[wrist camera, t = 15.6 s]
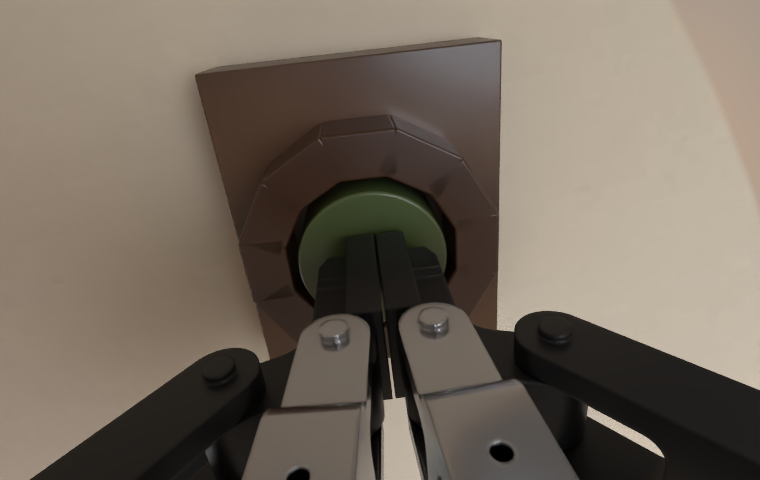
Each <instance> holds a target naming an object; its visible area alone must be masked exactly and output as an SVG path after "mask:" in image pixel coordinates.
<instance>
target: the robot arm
mask: <svg viewBox="0 0 760 480" xmlns="http://www.w3.org/2000/svg"><path fill="white" fill-rule="evenodd" d="M376 242H377V251H378V259H379V268H380V276H381V285H382V293H383V301H384V310H385V317H386V325H387V333H388V341H389V349H390V357H391V365H392V373H393V381H394V389H395V397H396V398H402V397H405V400H406V406H407V414H408V424H409V431H410V435H411V439H412V443H413V447H414V451H415V456H416V460H417V464H418V468H419V472H420V476H421V480H760V390H757V389H755V388H752V387H750V386H747V385H745V384H742V383H740V382H737V381H735V380H732V379H730V378H727V377H725V376H722V375H720V374H717V373H715V372H712V371H710V370H707V369H705V368H702V367H700V366H697V365H695V364H692V363H690V362H687V361H685V360H682V359H680V358H677V357H675V356H672V355H670V354H667V353H665V352H662V351H660V350H657V349H655V348H652V347H650V346H647V345H645V344H642V343H640V342H637V341H635V340H632V339H630V338H627V337H625V336H622V335H620V334H617V333H615V332H612V331H610V330H607V329H605V328H602V327H600V326H597V325H595V324H592V323H590V322H587V321H585V320H582V319H580V318H577V317H575V316H572V315H569V314H566V313H562V312H555V311H540V312H534V313H531V314H528V315H526V316H524V317H522V318H521V319H520V320H519V321H518V322H517V323H516V325H515V329H514V332H511V331H500V330H492V329H486V328H482V327H479V326H476V325H474V324H472V323H471V321H470V319H469V317H468V316H467V314H466V313H465V312H464V311H463V310H461V309H460V308H458V307H456V305H455V303H454V300H453V297H452V295H451V292H450V289H449V287H448V284H447V282H446V279H445V276H444V274H443V271H442V268H441V267H440V263H439V261H438V258H437V255H436V254H435V253H433V252H432V251H431V250H429V249H428V248H427V247H425V246H422V247H413V248H407V245H406V241H405V238H404V234H403V231H395V232H387V233H379V234H376ZM316 290H317V292H316V297H315V306H314V314H313V322H312V323H310V324H309V325H308V326H307V327H306V328H305V329H304V330H303V331H302V333H301V335H300V337H299V341H298V344H297V348H296V349H294V350H293V351H291V352H289V353H287V354H285V355H282V356H280V357H277V358H274V359H271V360H268V361H265V362H263V363H259V359H258V357H257V356H256V355H255V354H254V353H253V352H251V351H250V350H247V349H242V348H228V349H223V350H219V351H216V352H213V353H211V354H208V355H206V356H205V357H203V358H201V359H199V360H198V361H196V362H195V363H194V364H192V365H191V366H189V367H188V368H187V369H185V370H184V371H182V372H181V373H179V374H178V375H177V376H175V377H174V378H172V379H171V380H170V381H168V382H167V383H165V384H164V385H163V386H161V387H160V388H158V389H157V390H156V391H154V392H153V393H151V394H150V395H148V396H147V397H146V398H144V399H143V400H141V401H140V402H139V403H137V404H136V405H134V406H133V407H132V408H130V409H129V410H127V411H126V412H124V413H123V414H122V415H120V416H119V417H117V418H116V419H115V420H113V421H112V422H110V423H109V424H108V425H106V426H105V427H103V428H102V429H101V430H99V431H98V432H96V433H95V434H93V435H92V436H91V437H89V438H88V439H86V440H85V441H84V442H82V443H81V444H79V445H78V446H77V447H75V448H74V449H72V450H71V451H69V452H68V453H67V454H65V455H64V456H62V457H61V458H60V459H58V460H57V461H55V462H54V463H53V464H51V465H50V466H48V467H47V468H46V469H44V470H43V471H41V472H40V473H38V474H37V475H36V476H34V477H33V478H31V479H30V480H173V479H175V478H176V477H177V476H178V475H179V474H180V473H181V472H182V471H184V470H185V469H186V468H187V467H188V466H189V465H190V464H191V463H192V462H194V461H195V460H196V459H197V458H198V457H199V456H200V455H201V454H203V453H204V452H206V455H207V457H208V460H209V462H207V463H206V464H205V465H204V466H203V467H202V468H201V469H200V470H199V471H198V472H196V473H195V474H194V475H193V476H192V477H191V478H190V479H189V480H384V429H383V420H384V402H383V400H387V399H393V398H392V389H391V381H390V372H389V364H388V355H387V347H386V338H385V330H384V321H383V313H382V304H381V296H380V287H379V279H378V271H377V262H376V254H375V246H374V237H373V234H371V235H363V236H354V237H346V256H339V257H331V258H328V259H327V260H326V261H325V262H324V263H323V264H322V266H321V267H320V268H319V272H318V282H317V289H316ZM588 406H590V407H591V408H593V409H595V410H597V411H599V412H601V413H603V414H605V415H607V416H608V417H610V418H612V419H614V420H616V421H618V422H620V423H622V424H623V425H625V426H627V427H629V428H631V429H633V430H635V431H637V432H638V433H640V434H642V435H644V436H646V437H647V438H649V439H650V440H651V441H652V442H654V443H655V444H656V445H657V446H658V448H659V449H660V450H661V452H662V453H663V455H664V458H663V457H661V456H659V455H657V454H655V453H653V452H651V451H650V450H648V449H646V448H644V447H642V446H641V445H639V444H637V443H635V442H633V441H631V440H630V439H628V438H626V437H624V436H622V435H621V434H619V433H617V432H615V431H613V430H611V429H610V428H608V427H606V426H604V425H602V424H600V423H599V422H597V421H595V420H593V419H591V418H590V417H588V416H587V410H588Z"/></svg>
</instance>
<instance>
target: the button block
mask: <svg viewBox="0 0 760 480" xmlns="http://www.w3.org/2000/svg"><path fill="white" fill-rule="evenodd" d="M501 50H502V41H501V40H497V39H488V38H479V37H478V38H469V39H460V40H451V41H442V42H434V43H425V44H416V45H407V46H398V47H389V48H380V49H371V50H362V51H354V52H345V53H336V54H327V55H318V56H309V57H300V58H291V59H282V60H274V61H265V62H256V63H247V64H238V65H229V66H220V67H216V68H213V69H210V70H207V71H204V72H201V73H198V74H196V75H195V78H196V82H197V86H198V90H199V93H200V97H201V101H202V105H203V108H204V112H205V116H206V120H207V124H208V127H209V131H210V135H211V139H212V142H213V146H214V150H215V154H216V157H217V161H218V165H219V169H220V172H221V176H222V180H223V184H224V188H225V191H226V195H227V199H228V203H229V206H230V210H231V214H232V218H233V221H234V225H235V229H236V233H237V237H238V240H239V249H240V253H241V256H242V260H243V264H244V268H245V271H246V275H247V279H248V283H249V286H250V290H251V294H252V298H253V301H254V302H255V304H256V308H257V312H258V316H259V319H260V323H261V327H262V331H263V334H264V338H265V342H266V346H267V350H268V353H269V357H270V360H271V359H274V358H277V357H280V356H282V355H285V354H287V353H289V352H291V351H293V350H294V349H296V348H297V344H298V341H299V337H300V335H301V333H302V331H303V330H304V329H305V328H306V327H307V326H308V325H309V324H310V323H312V322H313V314H314V306H315V299H314V298H313V297H312V296H311V295H310V293H309V292H308V290H307V289H306V287H305V285H304V283H303V281H302V278H301V275H300V271H299V265H298V251H299V245H300V240H301V235H302V231H303V226H304V222H305V218H306V215H307V212H308V210H309V208H310V206H311V204H312V203H313V201H314V200H316V199H317V198H318V197H320V196H321V195H323V194H324V193H325V192H327V191H328V190H329V189H331V188H332V187H334V186H335V185H336V184H338V183H339V182H345V181H354V180H363V179H371V178H380V177H389V178H391V179H394V180H396V181H398V182H401V183H403V184H406V185H408V186H410V187H413V188H415V189H418V190H419V191H420V192H421V193H422V194H423V195H424V197H425V198H426V199H427V201H428V203H429V204H430V206H431V208H432V210H433V212H434V215H435V217H436V219H437V221H438V224H439V226H440V228H441V230H442V233H443V235H444V238H445V242H446V248H447V262H446V267H445V271H444V276H445V279H446V282H447V284H448V287H449V289H450V292H451V295H452V297H453V300H454V303H455V305H456V307H458V308H460V309H461V310H463V311H464V312H465V313H466V314H467V316H468V317H469V319H470V321H471V323H472V324H474V325H476V326H479V327H482V328H486V329H492V330H497V285H498V244H499V168H500V109H501ZM384 330H385V338H386V347H387V355H388V358H391V357H390V349H389V341H388V333H387V325H386V321H385V322H384Z"/></svg>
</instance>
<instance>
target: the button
mask: <svg viewBox="0 0 760 480" xmlns="http://www.w3.org/2000/svg"><path fill="white" fill-rule="evenodd" d="M395 231H403V234H404V238H405V241H406V245H407V248H413V247H422V246H425V247H427V248H428V249H429V250H431V251H432V252H433V253H435V254H436V255H437V258H438V261H439V263H440V267H441V268H442V271H443V274H444V271H445V267H446V262H447V248H446V242H445V238H444V235H443V233H442V230H441V228H440V226H439V224H438V221H437V219H436V217H435V215H434V212H433V210H432V208H431V206H430V204H429V203H428V201H427V199H426V198H425V197H424V195H423V194H422V193H421V192H420V191H419V190H418V189H415V188H413V187H410V186H408V185H406V184H403V183H401V182H398V181H396V180H394V179H391V178H389V177H380V178H371V179H363V180H354V181H345V182H339V183H338V184H336V185H335V186H334V187H332V188H331V189H329V190H328V191H327V192H325V193H324V194H323V195H321V196H320V197H318V198H317V199H316V200H314V201H313V203H312V204H311V206H310V208H309V210H308V212H307V215H306V218H305V222H304V226H303V231H302V235H301V240H300V245H299V251H298V265H299V271H300V275H301V278H302V281H303V283H304V285H305V287H306V289H307V290H308V292H309V293H310V295H311V296H312V297H313V298H314V299H315V297H316V292H317V290H316V289H317V282H318V272H319V268H320V267H321V266H322V264H323V263H324V262H325V261H326V260H327V259H328V258H331V257H339V256H346V237H354V236H363V235H371V234H373V237H374V246H375V254H376V262H377V271H378V279H379V287H380V296H381V304H382V313H383V321H384V322H385V321H386V317H385V310H384V301H383V293H382V285H381V276H380V268H379V259H378V251H377V242H376V234H379V233H387V232H395Z"/></svg>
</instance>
